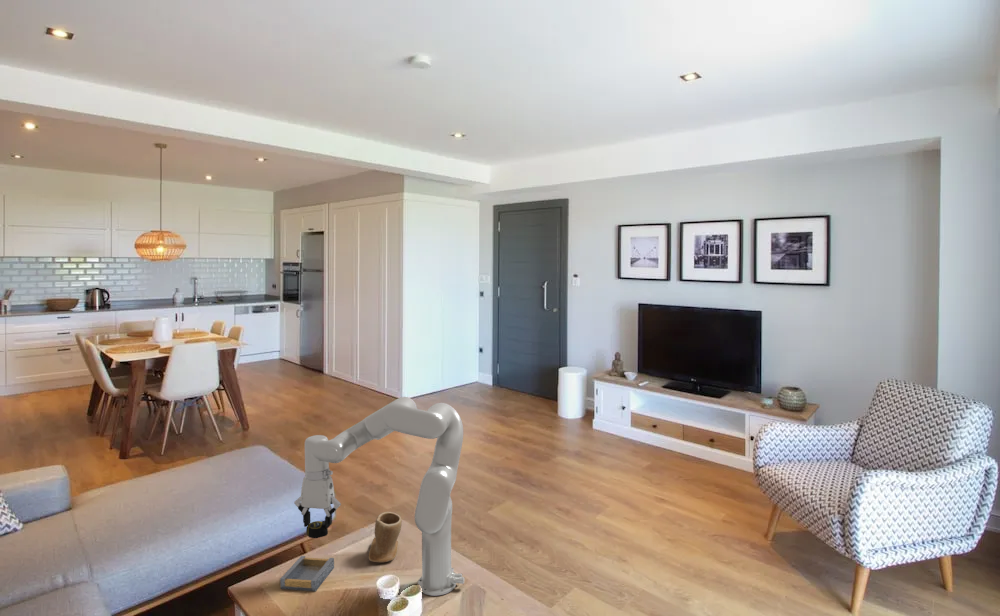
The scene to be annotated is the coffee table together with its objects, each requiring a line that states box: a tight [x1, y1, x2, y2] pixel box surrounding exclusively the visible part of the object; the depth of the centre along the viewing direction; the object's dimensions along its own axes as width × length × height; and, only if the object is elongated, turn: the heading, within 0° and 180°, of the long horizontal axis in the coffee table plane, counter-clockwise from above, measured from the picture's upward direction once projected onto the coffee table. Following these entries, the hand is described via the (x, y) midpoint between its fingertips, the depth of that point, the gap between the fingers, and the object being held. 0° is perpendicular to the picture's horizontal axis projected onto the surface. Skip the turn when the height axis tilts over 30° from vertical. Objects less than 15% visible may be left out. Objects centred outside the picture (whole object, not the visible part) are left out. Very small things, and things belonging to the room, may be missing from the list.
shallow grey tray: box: [279, 555, 335, 592], centre depth 181 cm, size 12×14×4 cm
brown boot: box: [368, 511, 403, 563], centre depth 196 cm, size 15×12×15 cm
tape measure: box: [305, 520, 329, 539], centre depth 180 cm, size 7×7×4 cm
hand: (317, 525), depth 180 cm, fingers closed on tape measure, 6 cm apart
